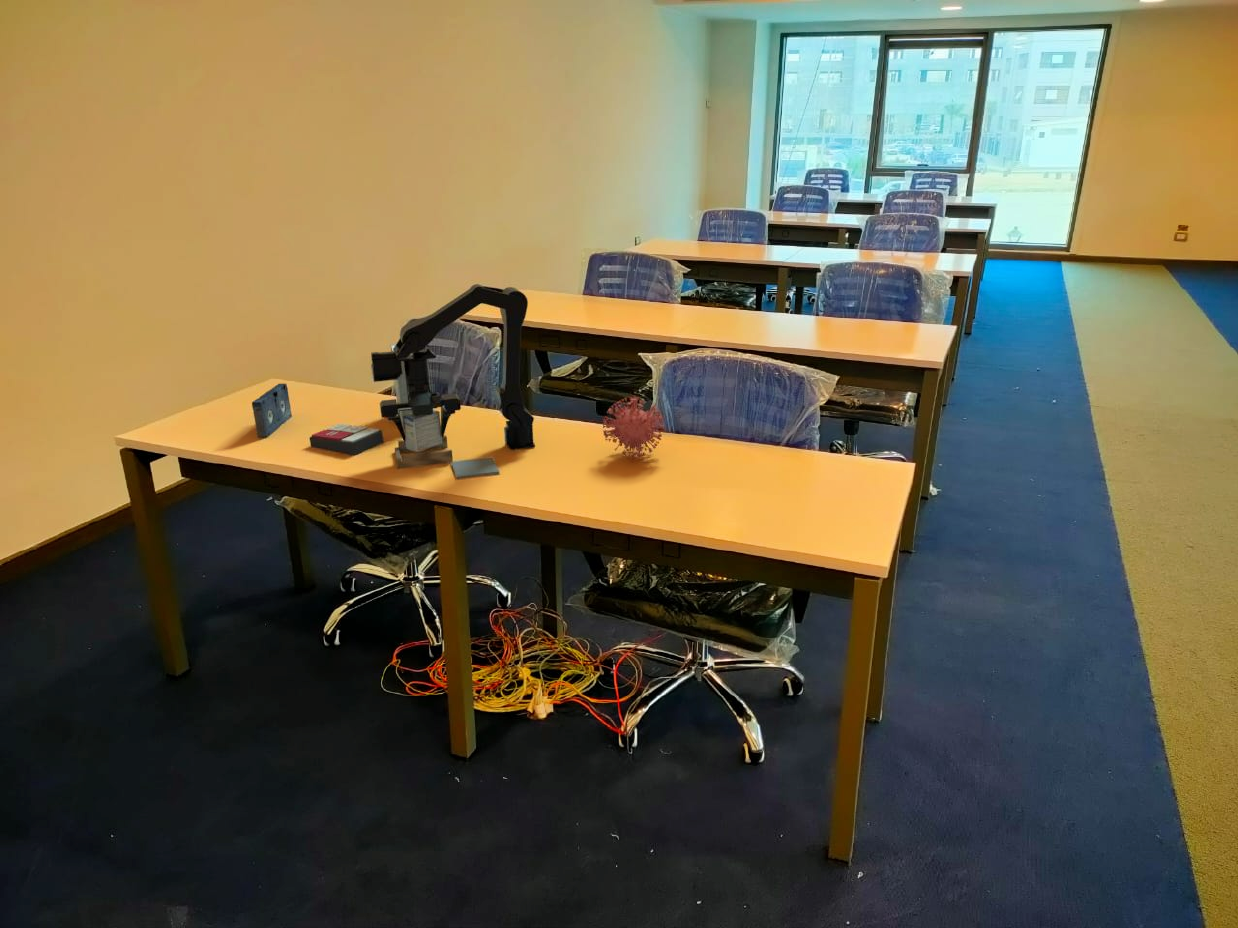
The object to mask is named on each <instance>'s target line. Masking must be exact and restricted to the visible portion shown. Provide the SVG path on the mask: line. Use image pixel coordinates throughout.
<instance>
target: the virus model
mask: <svg viewBox="0 0 1238 928" xmlns="http://www.w3.org/2000/svg"><path fill="white" fill-rule="evenodd" d="M627 398H629V400H630V401H628V402H627ZM639 399H640V397H639V396H630V397H624V398H622V399H621V400H619V401H616V402H615V403H613V405H611V407H609V408H608V410H607V411H606V414H609V415H613V417H615V418H616V419H615V418H611V417H609V416H606V415H605V416H604V417H605V418H603V422H602V429H603V436H604V437H605V441H606V442H607V441H608V442H609V443H610V442H611V440H612V442H613V443H614V444H617V441H618V445H617V447H616V448H614V451H617V450H618V448H619V447H623V446H624V450H623V451H622V452H621V454H622V455H623V456H626V454H627V453H626V452H629V454H628V455H627V458H628V459H634V458H635V456H636V457H638V458H641V457H643V456H645V455H646V453H645V452H643V450H644V451H646V452H647V450H648V451H649V454H650V453H652V452H653V450H652V448H650V447H649V445H651V447H653V449H654V450H656V449H657V447H658V444H660V441H661V440H662V438H661V437H663V436H662V433H663V432H665V430H663V429H665V424H664V418H663V416H662V414H661V412H660V411H659V409H657V407H656V405H653V406H651V408H650V409H649V410H647V409H646V411H644V410H643V409H644V406H645V404H646V403H647V401H646V400H645V399H644V398H641V400H639ZM624 401H625V402H626V403H625V402H624ZM638 402H639V404H638ZM642 403H643V404H642ZM625 404H626V405H625ZM617 405H618V406H617ZM614 406H615V407H614ZM613 409H614V410H615V411H614V410H613ZM656 424H662V425H659V426H658V425H656ZM604 428H606V429H610V428H611V429H610V430H606V429H604ZM661 429H662V430H661ZM657 433H658V434H657ZM608 437H609V438H608ZM656 439H657V440H658V441H657V440H656ZM648 444H649V445H648ZM631 453H632V454H631Z"/></svg>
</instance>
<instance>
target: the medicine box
mask: <svg viewBox="0 0 1238 928" xmlns="http://www.w3.org/2000/svg"><path fill="white" fill-rule="evenodd" d="M403 422H404V428H403V429H404V433H405V440H406V448H407V449H409V450H412V452H415V453H420V452H421V451H426V450H425V449H428V448H430V447H433V446H436V445H439V444H442V436H441V411H438V410H436V409H433V414H431V415H419V416H414V415H413V414H412V413H410V414H407V415H404V416H403Z"/></svg>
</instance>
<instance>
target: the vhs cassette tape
mask: <svg viewBox="0 0 1238 928" xmlns="http://www.w3.org/2000/svg"><path fill="white" fill-rule="evenodd" d="M251 405H252V407H251V408H252V411H253V417H254V423H255V427H256V428H255V429H256V434H257V437H258V439H266V438H267V439H268V438H269V437H270V436H271V435H272V434H274V433H275V432H277V430H278V429H280V428H281V427H282V426H283V425H284V424H286V422H287V420H288V421H289V420H290V419H291V418H292V417H293V414H292V410H291V409H292V408H291V401H290V396H289V388H288V385H287V383H278V384H276V385H275V386H273V387H272V388H271V389H269V390H267V391H266V392H264V393H263V394H262V395H261V396H259V397H258V398H256V399H255V400H253V401H252V402H251ZM282 424H283V425H282ZM281 425H282V426H281ZM280 426H281V427H280Z"/></svg>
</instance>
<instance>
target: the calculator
mask: <svg viewBox="0 0 1238 928" xmlns="http://www.w3.org/2000/svg"><path fill="white" fill-rule="evenodd" d="M309 442H310V448H314V449H318V450H323V451H324V450H325V451H329V452H335V453H341V454H344V455H349V456H354V457H355V456H357V455H360V454H362V453H364V452H366V450H367V451H368V449H369V450H370V449H373V448H375V447H377V446H380V445H382V444H384V435H383V430H381V429H379V428H374V427H373V428H372V427H369V428H368V427H367V426H361V425H360V426H359V425H352V424H343V423H339V424H336V425H332V426H330V427H328V428H326V429H323V430H320V431H318V432H315V433H313V434H311V436H309Z"/></svg>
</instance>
